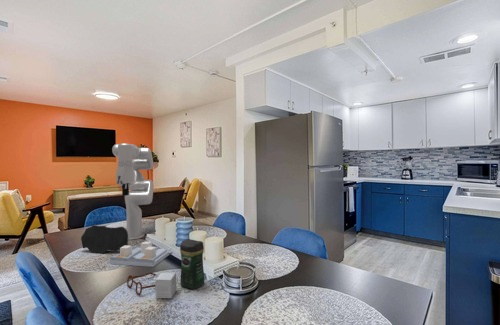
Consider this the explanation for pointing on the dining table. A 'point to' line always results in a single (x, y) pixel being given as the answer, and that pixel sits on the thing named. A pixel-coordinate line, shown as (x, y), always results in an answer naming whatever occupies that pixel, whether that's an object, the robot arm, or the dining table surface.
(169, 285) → the product box
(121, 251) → the light grey block
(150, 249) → the white block
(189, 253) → the coffee jar
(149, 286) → the glasses
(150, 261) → the switch bank
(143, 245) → the off-white block
